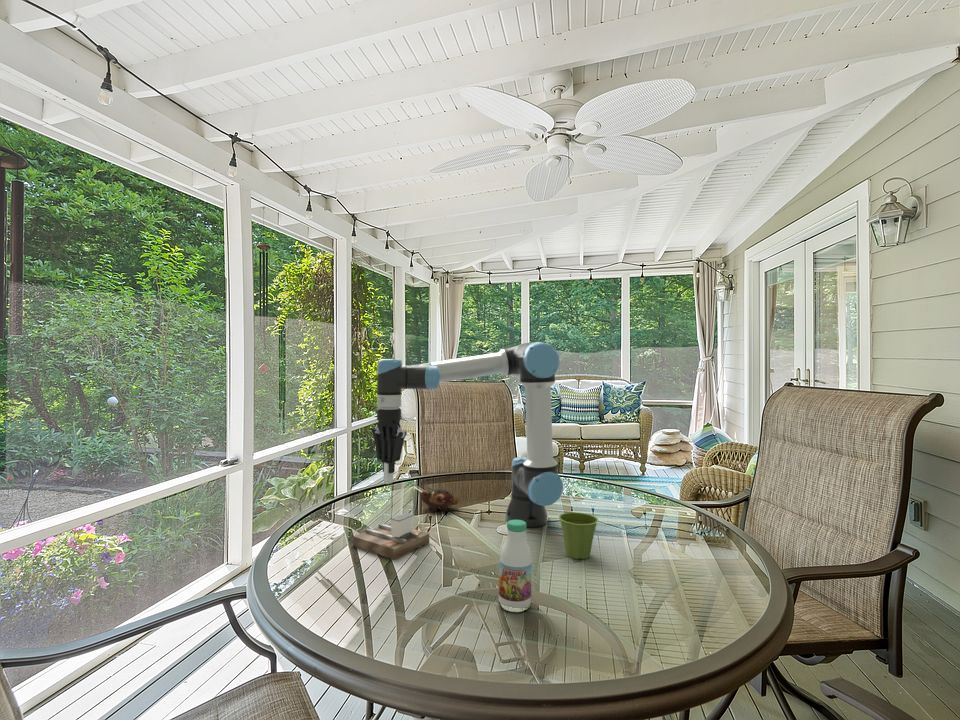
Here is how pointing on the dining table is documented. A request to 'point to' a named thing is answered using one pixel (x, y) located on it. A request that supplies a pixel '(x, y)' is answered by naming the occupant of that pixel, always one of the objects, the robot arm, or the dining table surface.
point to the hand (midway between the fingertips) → (388, 482)
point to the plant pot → (578, 533)
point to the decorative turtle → (438, 499)
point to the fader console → (389, 541)
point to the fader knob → (402, 525)
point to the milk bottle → (515, 567)
